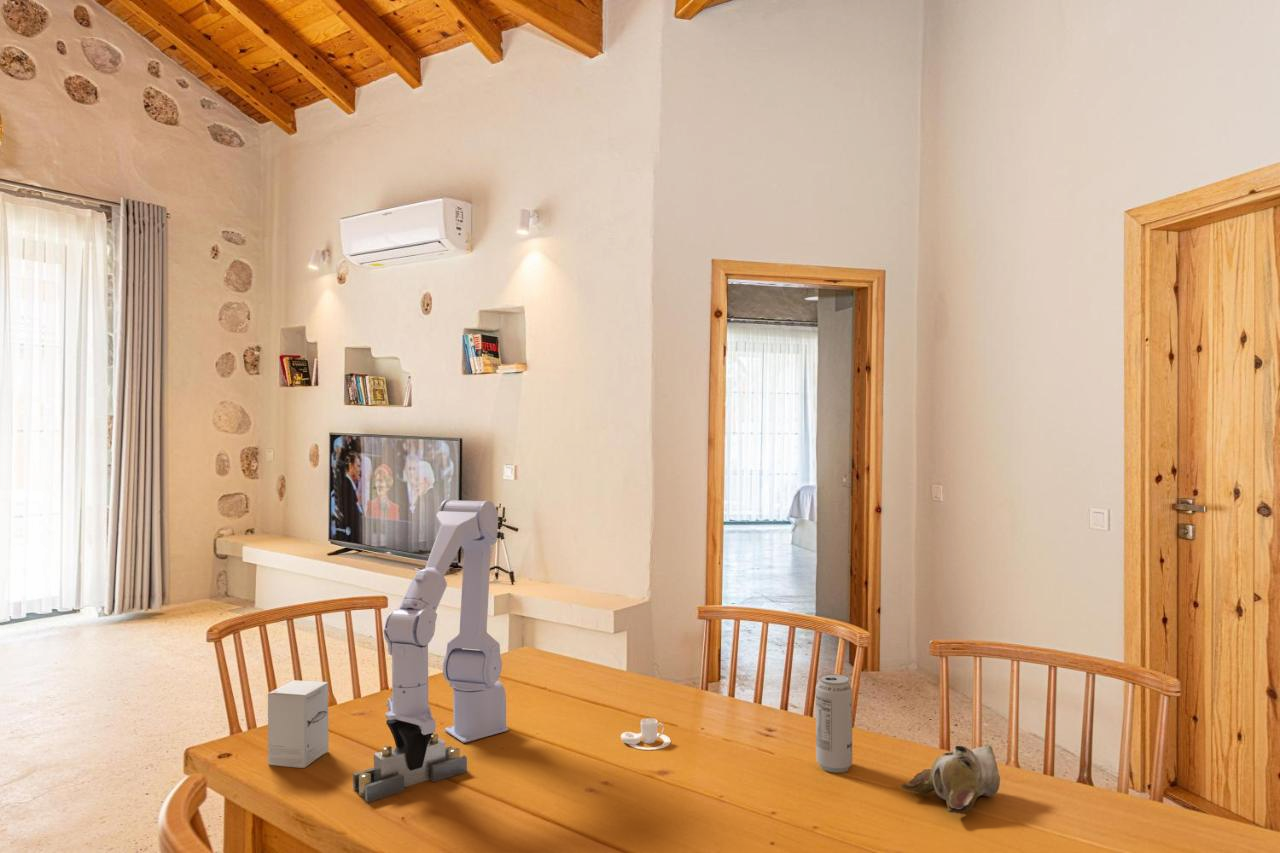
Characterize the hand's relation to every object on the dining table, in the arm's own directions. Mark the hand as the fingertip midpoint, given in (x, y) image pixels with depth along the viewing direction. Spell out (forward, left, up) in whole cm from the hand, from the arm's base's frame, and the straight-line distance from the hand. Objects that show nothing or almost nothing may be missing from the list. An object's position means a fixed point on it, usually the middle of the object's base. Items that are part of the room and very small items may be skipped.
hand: (411, 764), depth 135 cm
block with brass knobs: (0, 0, -3) cm, 3 cm away
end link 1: (+5, 0, -3) cm, 6 cm away
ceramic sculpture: (-62, +61, -3) cm, 87 cm away
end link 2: (-6, 0, -3) cm, 6 cm away
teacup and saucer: (-41, +10, -3) cm, 42 cm away
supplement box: (+11, -21, -3) cm, 24 cm away
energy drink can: (-58, +41, -3) cm, 71 cm away
